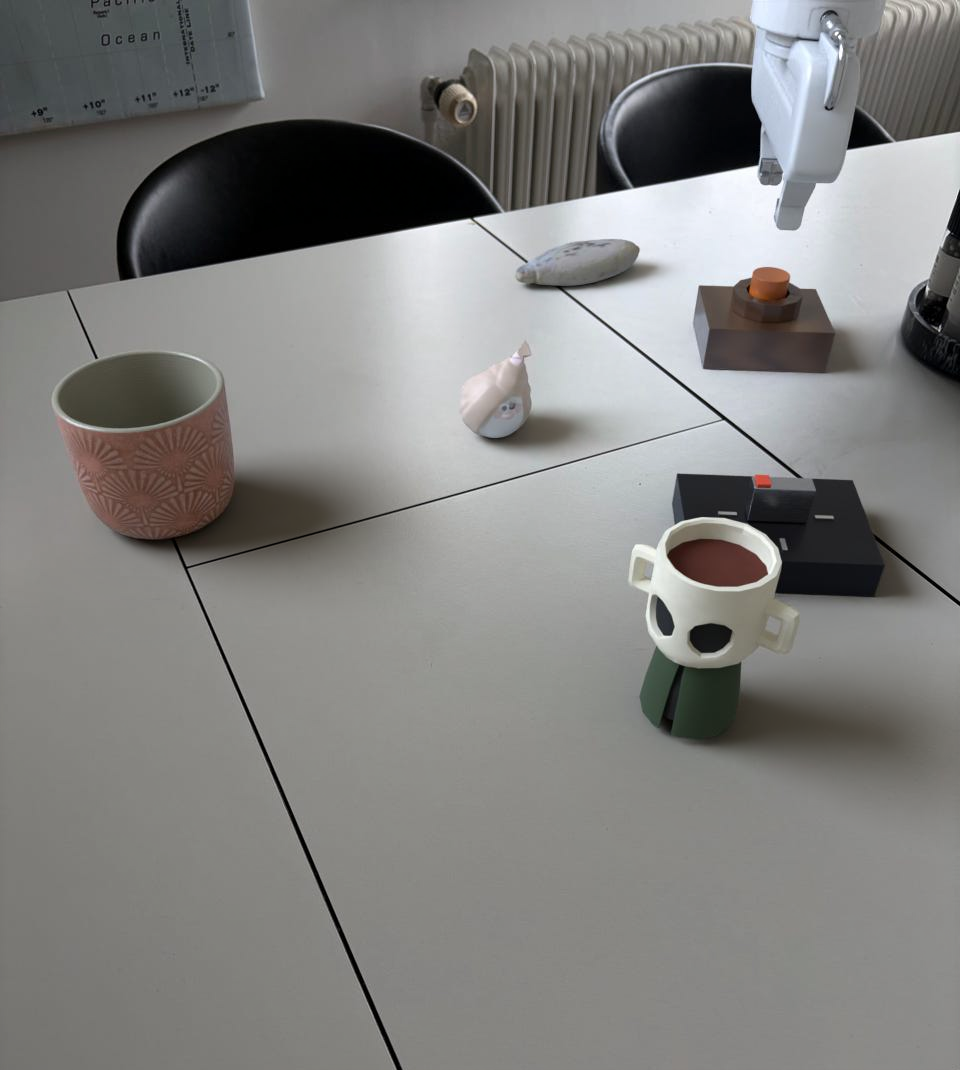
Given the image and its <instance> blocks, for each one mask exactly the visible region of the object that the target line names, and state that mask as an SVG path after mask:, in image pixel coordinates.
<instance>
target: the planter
mask: <svg viewBox="0 0 960 1070" xmlns="http://www.w3.org/2000/svg"><path fill="white" fill-rule="evenodd" d="M227 398H228V397H227V391H226V384H225V379H224V375H223V373H222V371H221V370H220V369H219V367H218V366H216V365H215V364H214V363H213V362H212V361H210V360H209V359H206V358H205V357H202V356H200V355H197V354H194V353H190V352H186V351H183V350H182V351H181V350H174V349H165V348H164V349H163V348H160V349H159V348H149V349H147V348H146V349H145V348H144V349H135V350H129V351H127V350H126V351H121V352H117V353H113V354H109V355H106V356H102V357H99V358H96V359H94V360H90V361H89V362H86V363H84V364H82V365H80V366H78V367H77V368H74V369H73V370H72V371H70V372H69V373H67V374H66V375H64V377H63V378H61V380H60V381H59V382H58V383H57V384H56V386H55V388H54V389H53V392H52V395H51V406H52V410H53V412H54V415H55V419H56V422H57V425H58V427H59V430H60V433H61V436H62V439H63V440H62V441H63V443H64V445H65V448H66V451H67V454H68V457H69V460H70V462H71V466H72V468H73V472H74V474H75V476H76V479H77V482H78V485H79V487H80V489H81V492H82V494H83V496H84V498H85V500H86V502H87V504H88V505H89V507H90V510H91V511H92V512H93V514H94V515H95V517H96V519H98V520H99V521H100V522H101V523H102V524H103V525H104V526H106V527H107V528H109V530H112V531H114V532H115V533H118V534H120V535H123V536H126V537H130V538H135V539H140V540H166V539H172V538H177V537H182V536H185V535H189V534H191V533H194V532H197V531H198V530H200V529H202V528H204V527H206V526H207V525H210V523H212V522H213V521H215V519H217V518H218V517H219V516H221V514H222V513H223V512H224V511H225V510H226V509H227V507H228V505H229V504H230V501H231V499H232V495H233V492H234V486H235V455H234V445H233V437H232V430H231V428H232V427H231V421H230V413H229V406H228V400H227Z"/></svg>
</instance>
